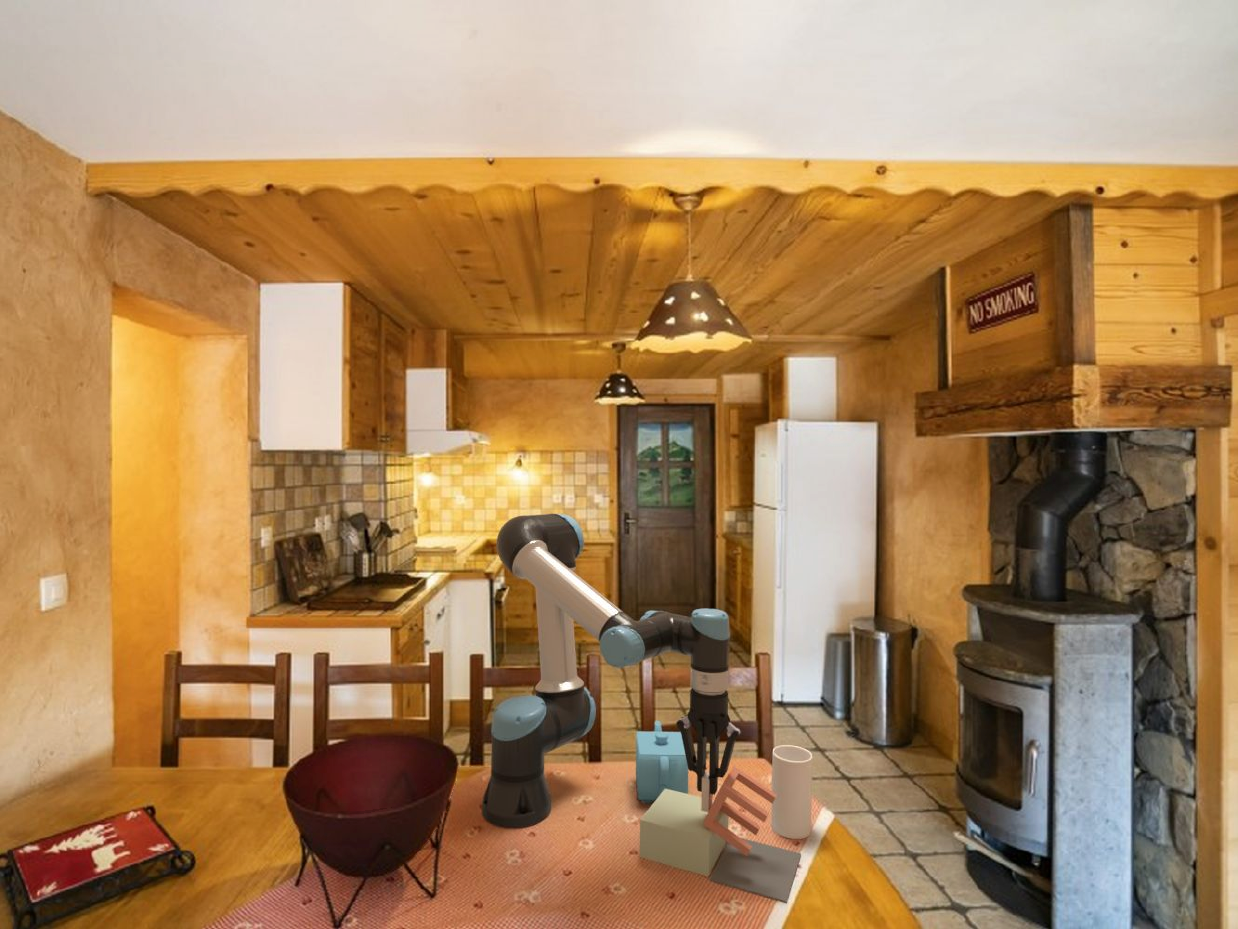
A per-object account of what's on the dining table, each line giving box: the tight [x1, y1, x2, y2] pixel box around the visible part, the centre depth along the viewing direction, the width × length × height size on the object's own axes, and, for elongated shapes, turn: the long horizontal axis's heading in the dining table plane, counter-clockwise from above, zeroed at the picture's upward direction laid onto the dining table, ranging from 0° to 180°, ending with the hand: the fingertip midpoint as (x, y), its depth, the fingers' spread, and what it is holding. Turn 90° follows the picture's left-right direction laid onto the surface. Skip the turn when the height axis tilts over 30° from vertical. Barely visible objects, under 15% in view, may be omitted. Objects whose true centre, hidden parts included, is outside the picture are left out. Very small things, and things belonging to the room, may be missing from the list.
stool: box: [703, 765, 777, 856], centre depth 126 cm, size 10×9×9 cm
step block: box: [638, 789, 730, 878], centre depth 131 cm, size 14×14×7 cm
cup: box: [770, 744, 813, 840], centre depth 139 cm, size 8×8×16 cm
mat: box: [709, 837, 802, 904], centre depth 125 cm, size 14×16×1 cm
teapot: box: [635, 720, 689, 804], centre depth 154 cm, size 22×11×14 cm, turn 1°
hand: (706, 808), depth 129 cm, fingers closed
